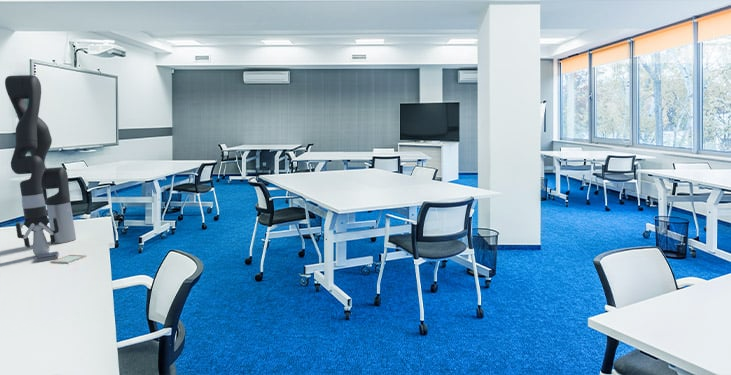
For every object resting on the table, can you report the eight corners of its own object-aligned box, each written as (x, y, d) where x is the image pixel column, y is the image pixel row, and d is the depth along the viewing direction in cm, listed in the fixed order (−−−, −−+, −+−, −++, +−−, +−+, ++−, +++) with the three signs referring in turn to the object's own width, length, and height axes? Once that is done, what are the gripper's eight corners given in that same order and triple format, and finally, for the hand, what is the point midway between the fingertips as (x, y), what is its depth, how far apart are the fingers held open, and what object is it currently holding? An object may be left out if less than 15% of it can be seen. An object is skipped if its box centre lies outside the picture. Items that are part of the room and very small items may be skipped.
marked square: (50, 262, 188) (50, 261, 188) (69, 256, 196) (69, 254, 196) (68, 263, 185) (67, 262, 185) (86, 256, 193) (86, 255, 193)
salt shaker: (54, 253, 202) (49, 222, 200) (43, 257, 196) (38, 225, 194) (40, 253, 203) (35, 222, 201) (30, 257, 197) (24, 226, 195)
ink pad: (38, 258, 196) (37, 254, 195) (58, 254, 199) (58, 250, 198) (36, 262, 189) (35, 258, 189) (57, 258, 193) (57, 254, 192)
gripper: (55, 202, 203) (61, 240, 205) (13, 207, 196) (20, 246, 199) (54, 204, 196) (60, 244, 199) (11, 209, 190) (18, 250, 192)
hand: (40, 245), depth 199 cm, fingers open, 7 cm apart
